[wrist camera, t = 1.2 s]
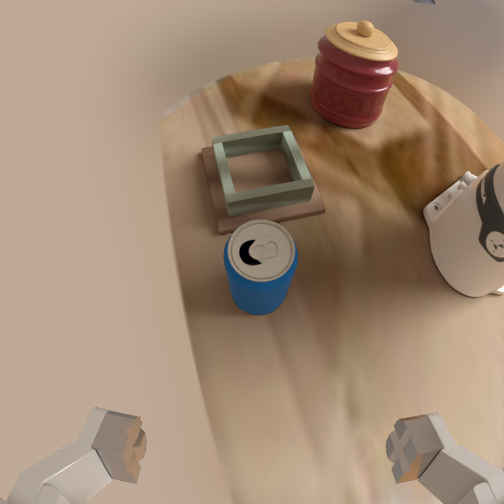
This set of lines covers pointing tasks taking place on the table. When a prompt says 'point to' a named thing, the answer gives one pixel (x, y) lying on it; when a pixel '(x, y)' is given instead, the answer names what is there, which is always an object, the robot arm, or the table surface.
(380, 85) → the canister
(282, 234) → the beverage can
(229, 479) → the table surface
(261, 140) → the cradle
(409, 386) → the table surface
